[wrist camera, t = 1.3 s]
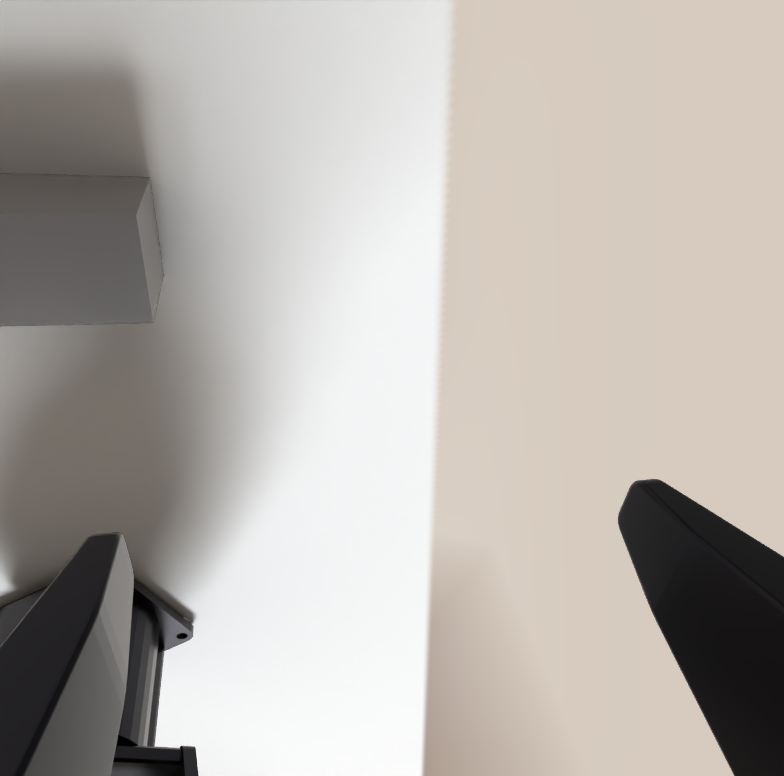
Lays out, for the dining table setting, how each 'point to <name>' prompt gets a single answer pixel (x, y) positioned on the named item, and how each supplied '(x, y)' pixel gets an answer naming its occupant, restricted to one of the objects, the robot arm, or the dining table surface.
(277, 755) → the dining table surface
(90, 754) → the robot arm
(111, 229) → the plug
